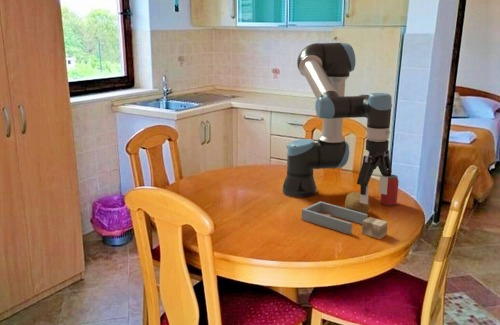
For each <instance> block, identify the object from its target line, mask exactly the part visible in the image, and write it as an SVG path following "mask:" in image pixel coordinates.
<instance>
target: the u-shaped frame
mask: <svg viewBox="0 0 500 325" xmlns="http://www.w3.org/2000/svg"><path fill="white" fill-rule="evenodd" d="M339 218H340V219H339ZM367 218H369V217H368V213H365V214H364V213H361V212H357V211H354V210H350V209H347V208H346V207H343V206H339V205H335V204H332V203H328V202H325V201H321V200H319V201H318V202H316V203H313V204H311V205H309V206H306V207H304V208H302V209H301V220H303V221H306V222H308V223H311V224H315V225H319V226H322V227H325V228H328V229H330V230H331V229H332V230H335V231H337V232H341V233H343V234H347V235H351V234H352V230H353V228H352V227H353V223H357V224H359V225H363V221H364V220H365V219H367ZM346 220H347V221H346ZM352 222H353V223H352Z"/></svg>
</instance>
